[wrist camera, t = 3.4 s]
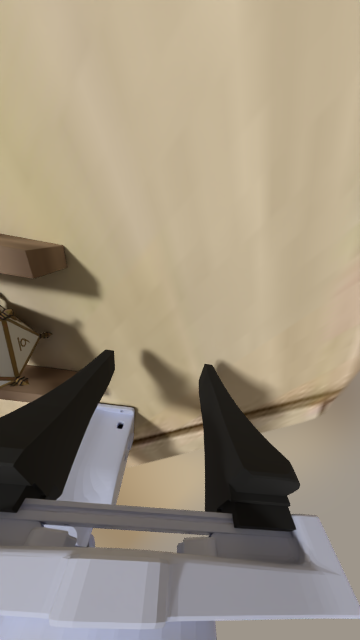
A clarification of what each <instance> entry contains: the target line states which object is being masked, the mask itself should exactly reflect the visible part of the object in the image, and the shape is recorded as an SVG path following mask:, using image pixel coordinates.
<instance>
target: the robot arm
mask: <svg viewBox="0 0 360 640" xmlns="http://www.w3.org/2000/svg"><path fill="white" fill-rule="evenodd" d="M114 370H115V363H114V351H112V350H105V351H103V352H102V353H101V354H100V355H99V356H98V357H96V358H95V359H94V360H93V361H92V362H90V363H89V364H88V365H87V366H85V367H84V368H83V369H82V370H80V371H79V372H78V373H76V374H75V375H74V376H72V377H71V378H69V379H68V380H67V381H65V382H64V383H62V384H61V385H59V386H58V387H56V388H54V389H53V390H51V391H50V392H48V393H46V394H44V395H43V396H41V397H39V398H38V399H36V400H34V401H32V402H30V403H28V404H27V405H25V406H23V407H21V408H19V409H17V410H15V411H13V412H11V413H9V414H7V415H5V416H3V417H0V640H217V638H216V625H215V621H217V620H218V621H219V620H261V619H265V620H266V619H314V618H343V619H344V618H345V619H346V618H347V619H360V605H359V603H358V601H357V599H356V596H355V594H354V592H353V590H352V588H351V586H350V584H349V581H348V579H347V577H346V575H345V573H344V571H343V569H342V566H341V564H340V562H339V560H338V558H337V556H336V554H335V551H334V549H333V547H332V545H331V543H330V541H329V539H328V537H327V534H326V532H325V530H324V528H323V526H322V524H321V522H320V520H319V518H318V516H316V515H305V514H290V511H289V508H288V507H289V506H290V502H289V500H288V497H287V495H289V494H291V493H293V492H294V491H296V490H298V489H299V487H300V483H299V481H298V478H297V476H296V474H295V472H294V469H293V467H292V465H291V464H290V462H289V461H288V460H287V459H286V458H285V457H284V456H283V455H282V454H281V453H280V452H279V451H278V450H277V449H276V448H275V447H273V446H272V445H271V444H270V443H269V442H268V441H267V440H266V439H265V438H264V437H263V435H262V434H261V433H260V432H259V431H258V430H257V429H256V428H255V427H254V426H253V424H252V423H251V422H250V421H249V420H248V419H247V418H246V416H245V415H244V414H243V413H242V411H241V410H240V409H239V407H238V406H237V405H236V403H235V402H234V400H233V399H232V398H231V396H230V395H229V393H228V391H227V390H226V388H225V387H224V385H223V383H222V382H221V380H220V378H219V376H218V375H217V373H216V371H215V369H214V367H213V366H212V365H209V364H205V365H204V367H203V370H202V373H201V376H200V379H199V397H200V405H201V412H202V420H203V428H204V450H205V512H203V511H190V510H176V509H163V508H150V507H137V506H123V505H116V502H117V498H118V495H119V491H120V487H121V483H122V479H123V475H124V470H125V466H126V462H127V458H128V454H129V450H131V447H132V443H133V438H134V413H135V410H134V408H132V407H124V406H116V405H107V404H99V402H100V400H101V398H102V396H103V394H104V392H105V391H106V389H107V387H108V385H109V383H110V381H111V378H112V375H113V373H114ZM93 528H104V529H120V530H136V531H150V532H166V533H181V534H197V535H210V536H209V537H193V538H184V540H183V542H182V543H179V544H178V545H177V553H173V552H162V551H151V550H137V549H122V548H99V547H95V541H94V537H93V535H92V534H91V532H92V529H93Z"/></svg>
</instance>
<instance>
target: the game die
mask: <svg viewBox="0 0 360 640" xmlns="http://www.w3.org/2000/svg"><path fill="white" fill-rule="evenodd" d="M51 334H52V333H48V332H46V333H44V332H43V333H42V334H38V333H37V332H36V331H34V330H33V329H32V328H30V327H29V326H28V325H26V324H25V323H24V322H22V321H21V320H20V319H18V318H17V317H16V316H14V314H13V312H12V309H5V308H3V307H2V306H1V305H0V388H2V387H4V386H6V385H10V386H18V384H19V386H23V385H29V382H28V378H25V377H20V376H21V374H22V372H23V370H24V369H25V367H26V365H27V363H28V361H29V359H30V357H31V355H32V353H33V351H34V349H35V347H36V345H37V343H38V341H39V339H40V338H46V337H47V338H48V337H49V336H50V335H51Z"/></svg>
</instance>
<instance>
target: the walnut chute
mask: <svg viewBox="0 0 360 640" xmlns="http://www.w3.org/2000/svg"><path fill="white" fill-rule="evenodd" d="M64 268H67V263H66V258H65V253H64V247H63V245H58V244H53V243H47V242H42V241H37V240H31V239H26V238H21V237H15V236H10V235H4V234H0V273H3V274H9V275H15V276H21V277H27V278H33V279H34V278H37V277H40V276H43V275H46V274H49V273H52V272H55V271H58V270H61V269H64ZM76 373H78V372H76V371H68V370H61V369H53V368H46V367H38V366H30V365H26V367H25V369H24V370H23V372H22V374H21V376H20V377H25V378H28V382H29V385H23V386H19V384H18V386H10V385H6V386H4V387H2V388H0V399H5V400H13V401H22V402H32V401H34V400H36V399H38V398H39V397H41V396H43V395H44V394H46V393H48V392H50V391H51V390H53V389H54V388H56V387H58V386H59V385H61V384H62V383H64V382H65V381H67V380H68V379H69V378H71V377H72V376H74V375H75V374H76Z"/></svg>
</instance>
